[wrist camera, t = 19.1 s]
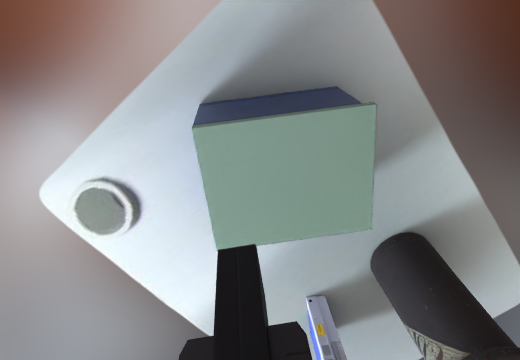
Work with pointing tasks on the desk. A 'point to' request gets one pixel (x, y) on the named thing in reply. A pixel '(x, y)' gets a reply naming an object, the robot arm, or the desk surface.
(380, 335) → the desk surface
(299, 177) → the case lid
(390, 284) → the container
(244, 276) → the robot arm
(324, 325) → the walkman
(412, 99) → the desk surface
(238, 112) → the case
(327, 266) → the desk surface
